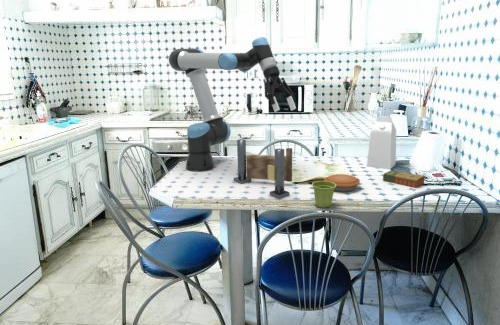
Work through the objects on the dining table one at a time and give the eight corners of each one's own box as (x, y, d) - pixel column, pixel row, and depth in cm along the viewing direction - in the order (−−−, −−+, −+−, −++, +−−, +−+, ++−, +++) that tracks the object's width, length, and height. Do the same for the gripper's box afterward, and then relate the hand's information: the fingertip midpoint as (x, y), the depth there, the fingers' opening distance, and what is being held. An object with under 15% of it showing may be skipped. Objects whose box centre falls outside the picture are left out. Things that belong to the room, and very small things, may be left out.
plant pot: (336, 202, 165) (337, 181, 162) (333, 210, 156) (334, 189, 154) (313, 200, 168) (314, 179, 165) (309, 208, 159) (309, 187, 157)
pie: (353, 195, 172) (353, 184, 171) (318, 190, 180) (319, 179, 179) (364, 185, 185) (364, 175, 183) (331, 180, 193) (331, 170, 191)
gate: (246, 178, 192) (245, 147, 188) (248, 176, 194) (247, 146, 190) (291, 181, 185) (291, 149, 182) (292, 179, 188) (292, 148, 184)
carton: (416, 189, 180) (416, 179, 179) (382, 181, 191) (382, 173, 190) (424, 184, 185) (424, 175, 184) (390, 177, 196) (391, 169, 195)
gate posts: (233, 181, 195) (232, 140, 189) (243, 178, 198) (242, 138, 193) (278, 198, 170) (278, 152, 165) (289, 195, 173) (289, 149, 168)
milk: (395, 164, 218) (399, 115, 211) (389, 169, 209) (393, 118, 202) (373, 161, 224) (375, 114, 218) (366, 166, 215) (369, 117, 208)
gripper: (259, 64, 182) (276, 107, 179) (290, 66, 201) (306, 105, 198) (247, 72, 186) (263, 114, 184) (279, 73, 205) (294, 112, 203)
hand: (285, 110), depth 191 cm, fingers open, 13 cm apart
